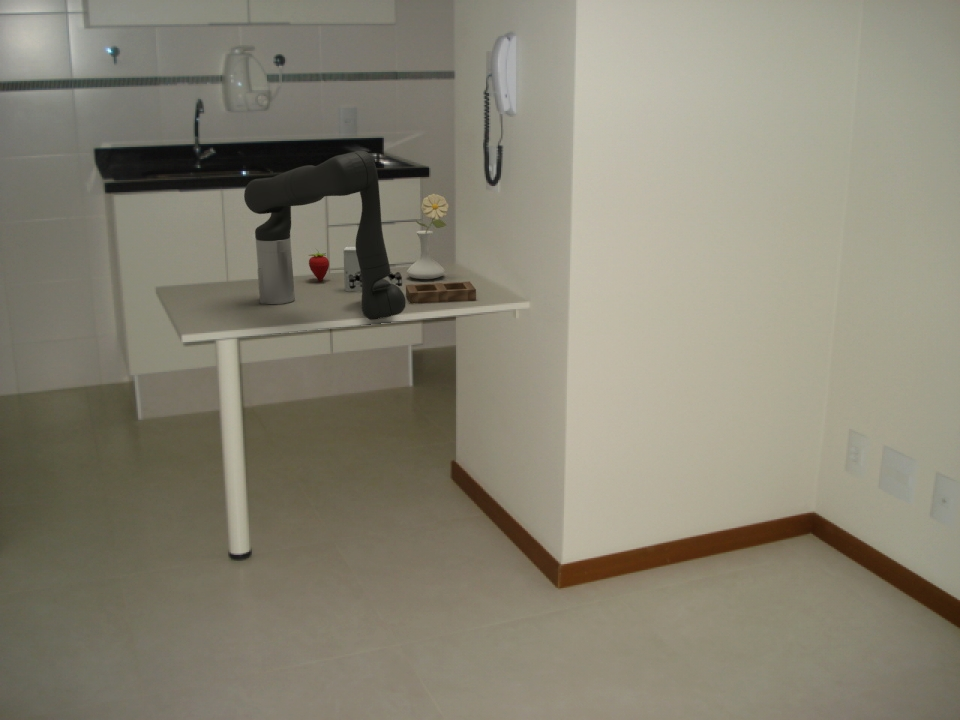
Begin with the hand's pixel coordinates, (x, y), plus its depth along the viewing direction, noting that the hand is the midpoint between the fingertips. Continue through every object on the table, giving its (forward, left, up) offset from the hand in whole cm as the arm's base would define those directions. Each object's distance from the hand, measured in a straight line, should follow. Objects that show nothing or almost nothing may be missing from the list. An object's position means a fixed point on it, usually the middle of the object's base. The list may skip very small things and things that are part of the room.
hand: (373, 274), depth 272 cm
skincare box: (-4, +13, -7) cm, 15 cm away
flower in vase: (+18, +24, -7) cm, 31 cm away
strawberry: (-14, +27, -7) cm, 31 cm away
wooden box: (+18, -2, -7) cm, 19 cm away
